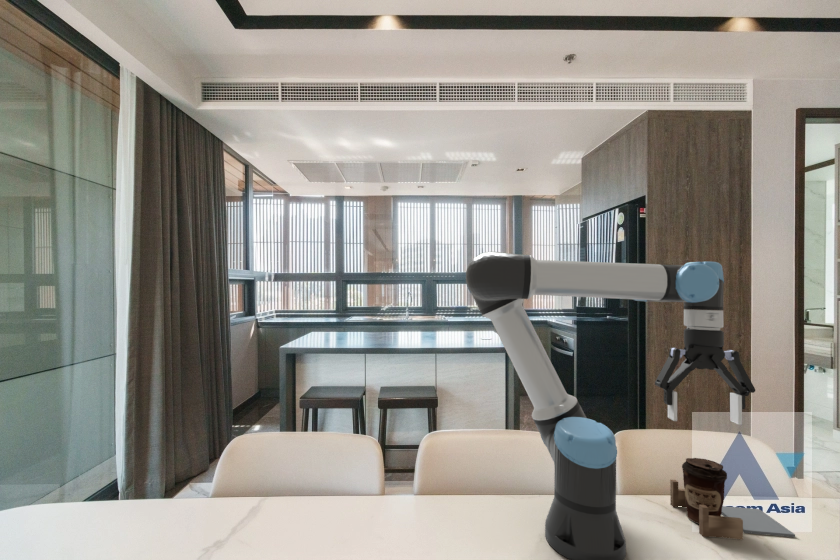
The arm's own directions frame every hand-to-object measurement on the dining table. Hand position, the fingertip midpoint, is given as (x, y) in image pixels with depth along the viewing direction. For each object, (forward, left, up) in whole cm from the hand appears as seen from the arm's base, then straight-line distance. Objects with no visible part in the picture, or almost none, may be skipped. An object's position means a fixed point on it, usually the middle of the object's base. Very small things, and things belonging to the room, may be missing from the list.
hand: (703, 421), depth 89 cm
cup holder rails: (0, 0, -22) cm, 22 cm away
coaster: (+11, +1, -22) cm, 25 cm away
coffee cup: (0, 0, -23) cm, 23 cm away
